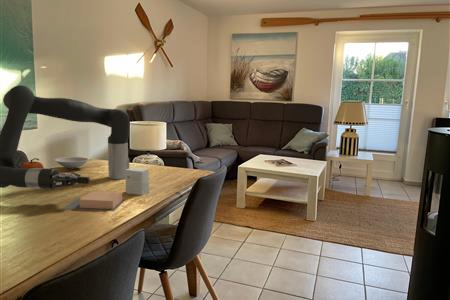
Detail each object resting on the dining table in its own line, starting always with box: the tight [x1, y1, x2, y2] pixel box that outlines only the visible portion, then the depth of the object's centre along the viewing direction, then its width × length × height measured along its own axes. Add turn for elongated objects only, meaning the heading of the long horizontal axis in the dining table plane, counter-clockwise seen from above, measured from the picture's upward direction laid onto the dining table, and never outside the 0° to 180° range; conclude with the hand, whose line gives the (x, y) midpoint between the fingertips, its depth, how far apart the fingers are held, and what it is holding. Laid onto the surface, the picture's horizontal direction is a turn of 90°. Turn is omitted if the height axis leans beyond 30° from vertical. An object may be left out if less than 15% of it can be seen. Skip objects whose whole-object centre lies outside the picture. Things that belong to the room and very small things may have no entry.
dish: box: [54, 156, 90, 170], centre depth 187 cm, size 18×14×5 cm
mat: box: [61, 197, 126, 212], centre depth 128 cm, size 18×13×1 cm
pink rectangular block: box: [79, 191, 123, 209], centre depth 128 cm, size 3×10×12 cm
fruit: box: [20, 157, 44, 169], centre depth 163 cm, size 10×10×10 cm
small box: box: [125, 167, 150, 196], centre depth 144 cm, size 8×6×10 cm
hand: (89, 180), depth 127 cm, fingers closed
